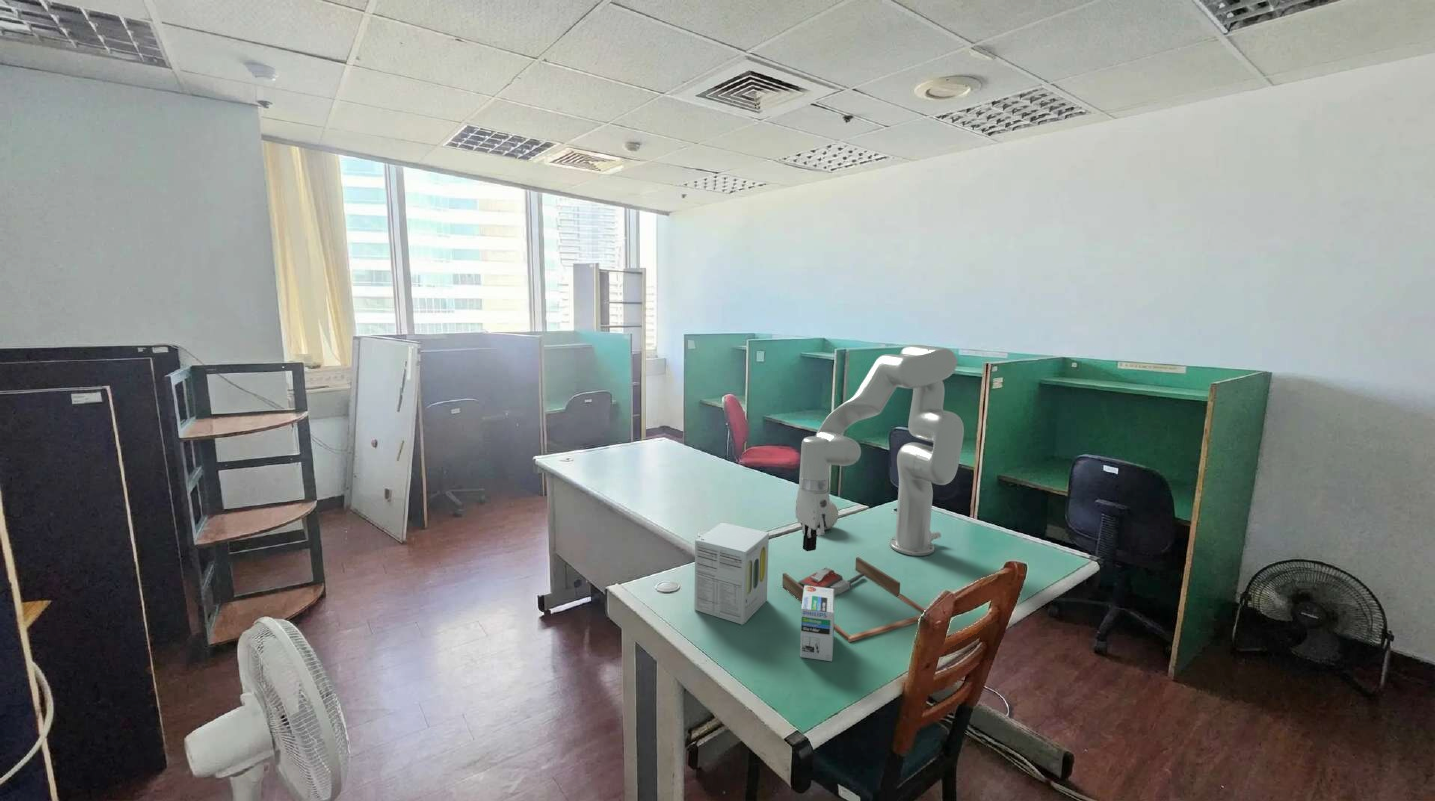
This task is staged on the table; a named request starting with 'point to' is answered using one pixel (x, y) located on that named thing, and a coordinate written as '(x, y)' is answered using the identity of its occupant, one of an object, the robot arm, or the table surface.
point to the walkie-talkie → (829, 580)
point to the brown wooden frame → (876, 577)
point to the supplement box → (731, 572)
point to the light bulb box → (817, 623)
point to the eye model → (832, 515)
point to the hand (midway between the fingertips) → (809, 549)
